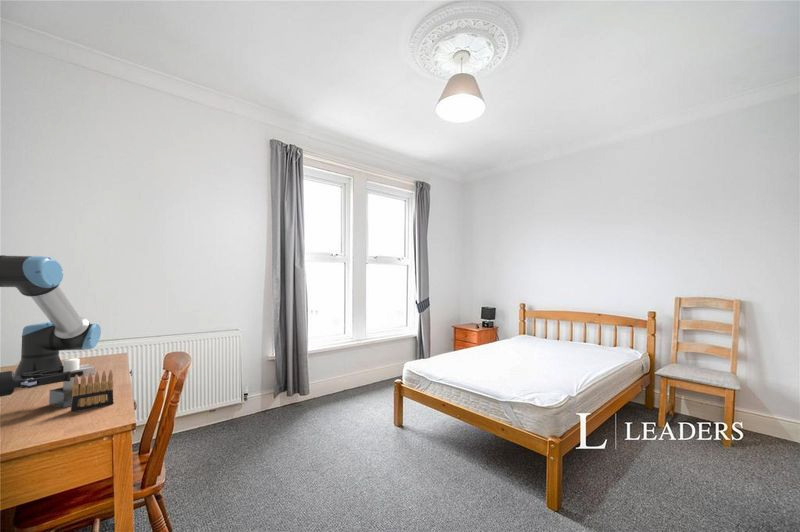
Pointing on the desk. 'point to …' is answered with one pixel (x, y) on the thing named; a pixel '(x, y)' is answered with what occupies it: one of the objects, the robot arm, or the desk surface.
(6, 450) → the desk surface
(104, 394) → the ammunition clip
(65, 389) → the cylinder
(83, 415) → the desk surface
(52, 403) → the square open box
